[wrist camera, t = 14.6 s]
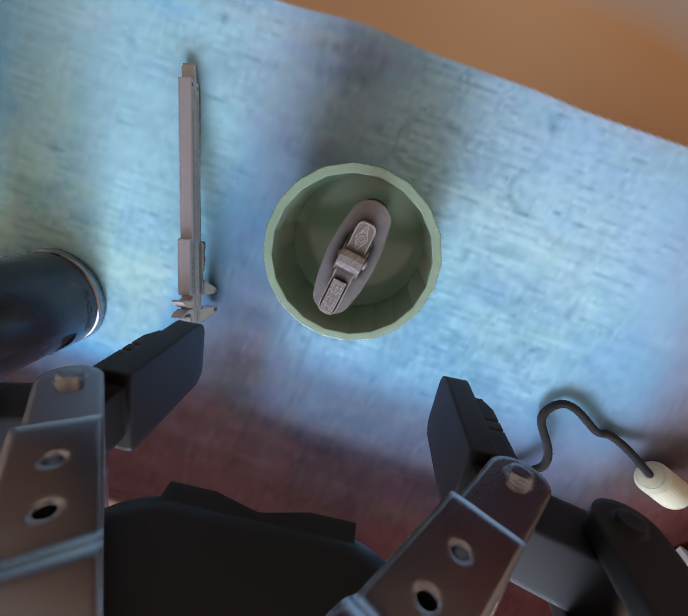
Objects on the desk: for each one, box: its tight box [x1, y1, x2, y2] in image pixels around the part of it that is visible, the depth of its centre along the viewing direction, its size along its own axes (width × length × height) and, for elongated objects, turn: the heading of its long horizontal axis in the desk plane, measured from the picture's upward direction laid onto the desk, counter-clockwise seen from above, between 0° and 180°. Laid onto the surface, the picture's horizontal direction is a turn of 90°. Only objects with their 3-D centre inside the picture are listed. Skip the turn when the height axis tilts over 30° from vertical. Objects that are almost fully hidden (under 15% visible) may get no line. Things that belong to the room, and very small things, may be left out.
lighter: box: [313, 197, 391, 315], centre depth 26 cm, size 8×3×10 cm, turn 154°
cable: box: [531, 400, 688, 510], centre depth 35 cm, size 16×16×4 cm
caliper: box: [171, 63, 217, 323], centre depth 29 cm, size 20×1×6 cm, turn 179°
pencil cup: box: [263, 162, 442, 341], centre depth 28 cm, size 12×12×8 cm
